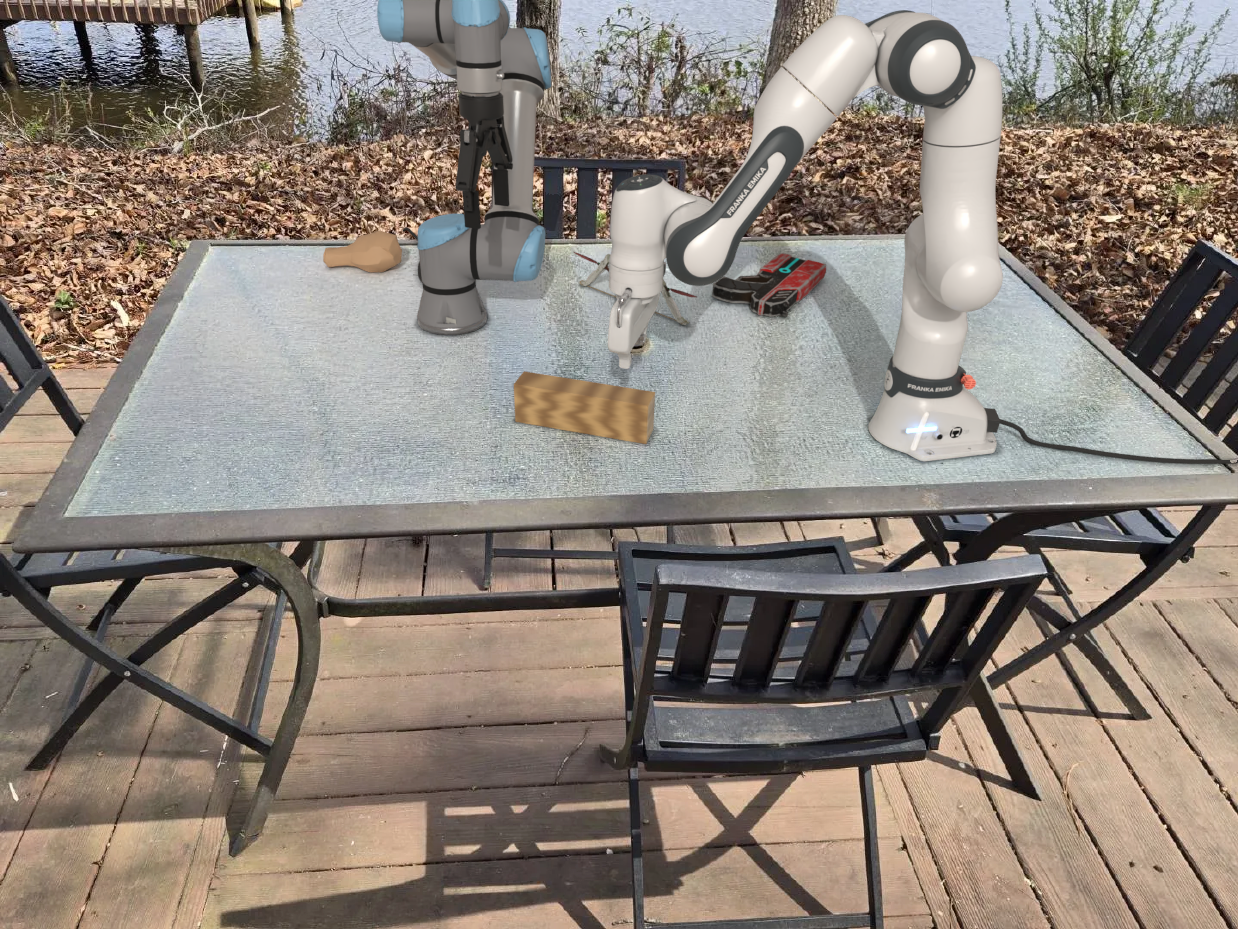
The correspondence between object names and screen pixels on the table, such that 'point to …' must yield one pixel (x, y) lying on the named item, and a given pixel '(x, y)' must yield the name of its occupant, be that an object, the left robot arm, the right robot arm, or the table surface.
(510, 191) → the left robot arm
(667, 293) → the bow
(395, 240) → the squash
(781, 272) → the gun
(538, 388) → the bar
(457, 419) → the table surface
